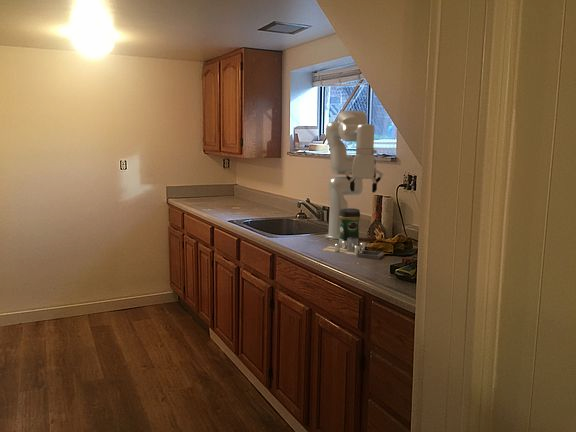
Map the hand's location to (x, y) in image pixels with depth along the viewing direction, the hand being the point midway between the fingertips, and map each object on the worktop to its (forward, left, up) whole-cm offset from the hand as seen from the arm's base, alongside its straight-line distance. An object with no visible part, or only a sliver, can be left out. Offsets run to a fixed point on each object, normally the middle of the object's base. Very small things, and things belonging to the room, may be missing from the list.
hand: (363, 191), depth 232 cm
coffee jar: (-9, -8, -28) cm, 30 cm away
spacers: (+2, -4, -27) cm, 27 cm away
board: (+2, -7, -27) cm, 28 cm away
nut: (+2, -3, -27) cm, 27 cm away
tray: (+8, +7, -27) cm, 29 cm away
